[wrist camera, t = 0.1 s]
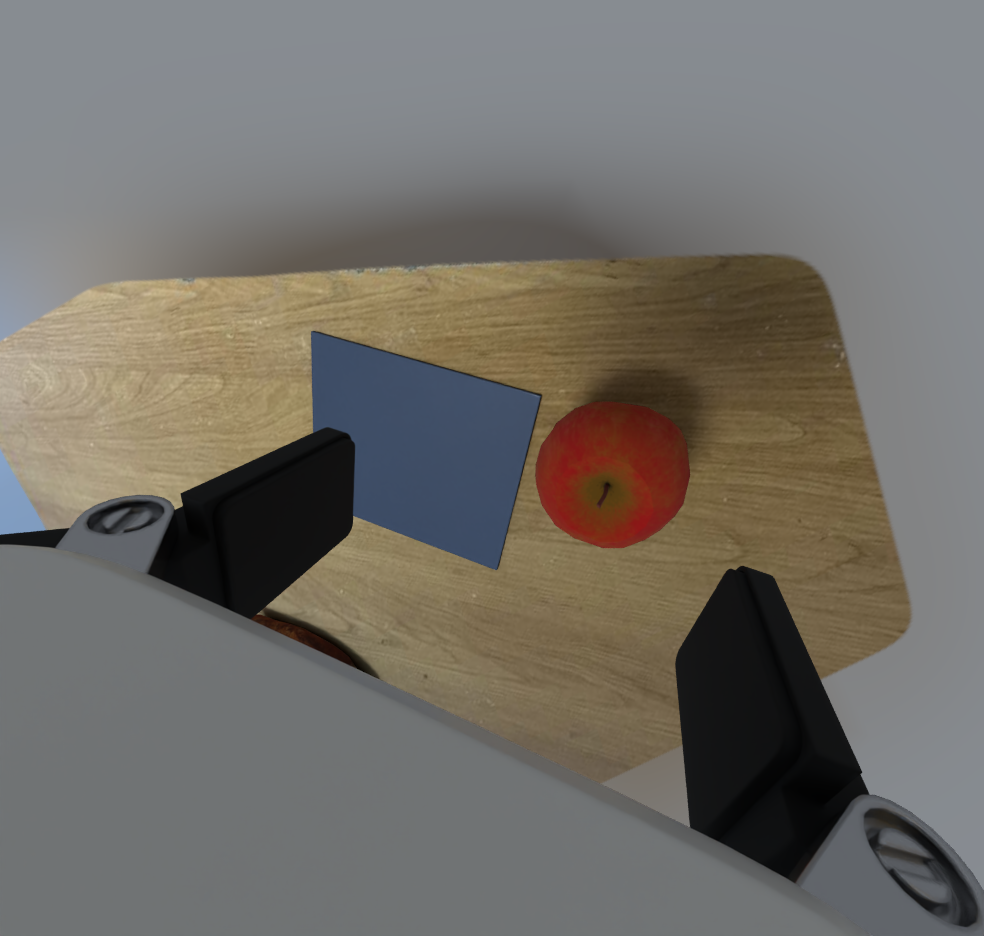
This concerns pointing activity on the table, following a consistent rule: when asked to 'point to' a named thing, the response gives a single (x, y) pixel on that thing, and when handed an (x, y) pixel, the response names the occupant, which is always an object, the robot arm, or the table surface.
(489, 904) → the robot arm
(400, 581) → the table surface
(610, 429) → the apple
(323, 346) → the napkin
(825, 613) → the table surface
